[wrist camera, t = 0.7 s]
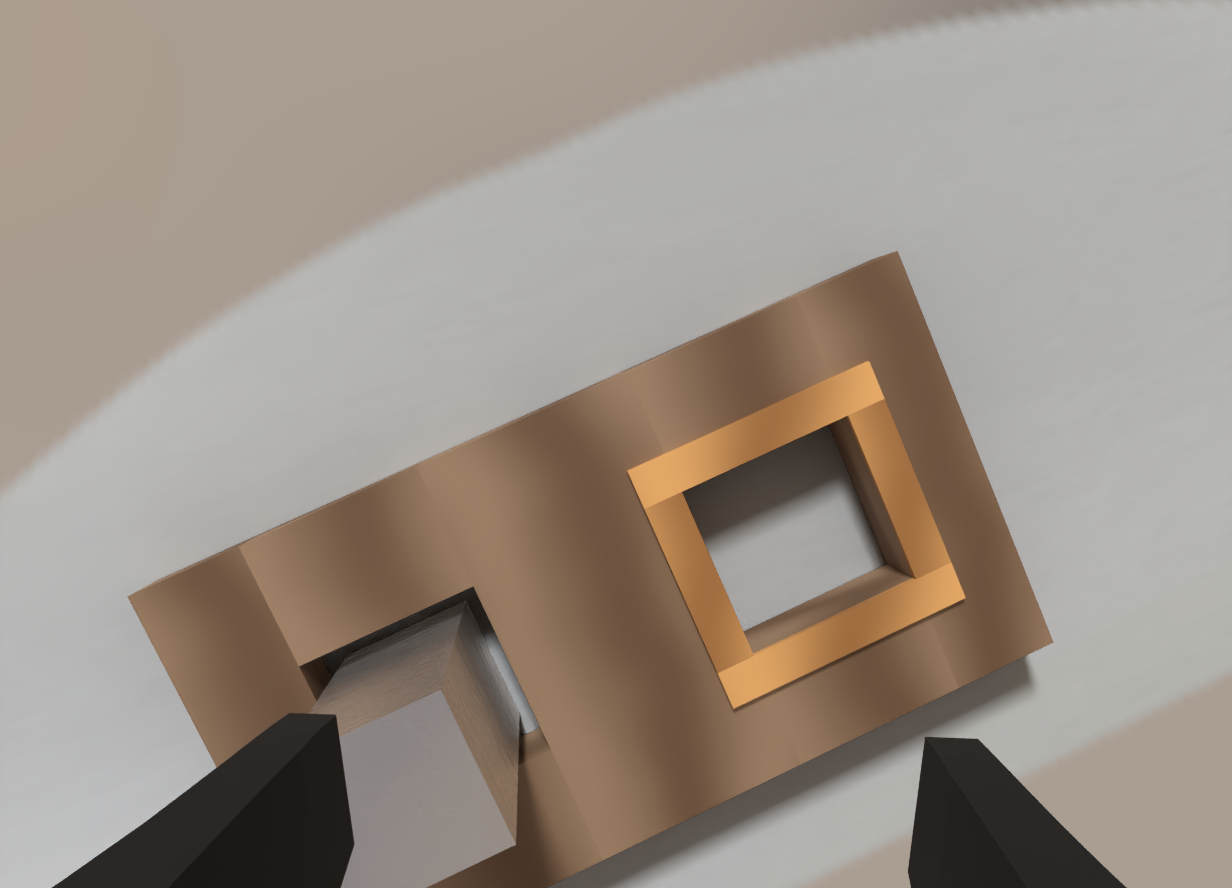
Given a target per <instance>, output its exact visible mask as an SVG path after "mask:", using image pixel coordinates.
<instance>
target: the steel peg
mask: <svg viewBox="0 0 1232 888" xmlns="http://www.w3.org/2000/svg"><path fill="white" fill-rule="evenodd" d="M309 714H333V715H336V717H337V724H338V731H339V738H340V745H341V752H342V759H343V766H344V773H345V780H346V787H347V794H348V801H349V808H350V816H351V823H352V830H353V837H354V847H353V851H352V854H351V857H350V860H349V863H348V867H347V870H346V873H345V876H344V879H343V882H342V886H341V888H427V887H429V886H431V885H433V884H435V883H437V882H439V881H441V880H443V879H445V878H447V877H449V876H452V875H454V874H456V873H458V872H460V871H462V870H464V869H466V868H468V867H470V866H472V865H475V864H477V863H479V862H481V861H483V860H485V859H487V858H489V857H491V856H493V855H495V854H497V853H500V852H502V851H504V850H506V849H508V848H510V847H512V846H514V845H516V827H517V790H518V754H519V718H520V713H519V711H518V709H517V707H516V704H515V702H514V700H513V698H512V696H511V694H510V692H509V690H508V688H507V686H506V683H505V681H504V679H503V677H502V675H501V673H500V671H499V669H498V667H497V665H496V662H495V660H494V658H493V656H492V654H491V652H490V650H489V648H488V646H487V644H486V641H485V639H484V637H483V635H482V633H481V631H480V629H479V627H478V625H477V623H476V620H475V618H474V616H473V614H472V612H471V610H470V608H469V606H468V604H467V602H466V601H464V602H462V603H460V604H457V605H455V606H453V607H451V608H449V609H447V610H444V611H442V612H440V613H438V614H436V615H433V616H431V617H429V618H427V619H425V620H423V621H420V622H418V623H416V624H414V625H412V626H410V627H407V628H405V629H403V630H401V631H399V632H397V633H394V634H392V635H390V636H388V637H386V638H383V639H381V640H379V641H377V642H375V643H373V644H370V645H368V646H366V647H364V648H362V649H360V650H357V651H355V652H353V653H351V654H349V655H347V656H346V657H345V659H344V660H343V662H342V664H341V665H340V667H339V668H338V670H337V671H336V673H335V674H334V676H333V677H332V679H331V680H330V682H329V683H328V685H327V686H326V688H325V689H324V691H323V692H322V694H321V696H320V697H319V699H318V700H317V702H316V703H315V705H314V706H313V708H312V709H311V711H310V712H309Z"/></svg>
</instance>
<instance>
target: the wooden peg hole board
mask: <svg viewBox="0 0 1232 888" xmlns="http://www.w3.org/2000/svg"><path fill="white" fill-rule="evenodd" d="M828 424H829V427H830V429H831V432H832V434H833V436H834V439H835V441H836V444H837V446H838V448H839V451H840V453H841V456H842V458H843V460H844V463H845V465H846V468H847V470H848V472H849V475H850V477H851V480H852V482H853V484H854V487H855V489H856V492H857V494H858V496H859V499H860V501H861V504H862V506H863V508H864V511H865V513H866V516H867V518H868V520H869V523H870V525H871V528H872V530H873V532H874V535H875V537H876V540H877V542H878V544H879V547H880V549H881V552H882V554H883V556H884V559H885V561H886V565H884V566H881V567H879V568H877V569H875V570H873V571H871V572H869V573H867V574H864V575H862V576H860V577H858V578H856V579H854V580H852V581H850V582H848V583H845V584H843V585H841V586H839V587H837V588H835V589H833V590H831V591H828V592H826V593H824V594H822V595H820V596H818V597H816V598H814V599H812V600H809V601H807V602H805V603H803V604H801V605H799V606H797V607H795V608H792V609H790V610H788V611H786V612H784V613H782V614H780V615H778V616H776V617H773V618H771V619H769V620H767V621H765V622H763V623H761V624H759V625H756V626H754V627H752V628H750V629H748V630H746V631H744V632H743V629H742V627H741V625H740V623H739V620H738V618H737V616H736V614H735V611H734V609H733V607H732V604H731V602H730V600H729V598H728V595H727V593H726V591H725V589H724V586H723V584H722V582H721V579H720V577H719V575H718V573H717V570H716V568H715V566H714V564H713V561H712V559H711V557H710V555H709V552H708V550H707V548H706V545H705V543H704V541H703V539H702V536H701V534H700V532H699V530H698V527H697V525H696V523H695V520H694V518H693V516H692V514H691V511H690V509H689V507H688V505H687V502H686V500H685V498H684V495H683V493H682V492H683V491H685V490H687V489H689V488H691V487H693V486H696V485H698V484H700V483H702V482H704V481H707V480H709V479H711V478H713V477H715V476H717V475H720V474H722V473H724V472H726V471H728V470H730V469H733V468H735V467H737V466H739V465H741V464H744V463H746V462H748V461H750V460H752V459H754V458H757V457H759V456H761V455H763V454H765V453H767V452H770V451H772V450H774V449H776V448H778V447H780V446H783V445H785V444H787V443H789V442H791V441H794V440H796V439H798V438H800V437H802V436H804V435H807V434H809V433H811V432H813V431H815V430H817V429H820V428H822V427H824V426H826V425H828ZM471 587H474V589H475V591H476V593H477V595H478V597H479V599H480V601H481V603H482V605H483V608H484V610H485V612H486V614H487V616H488V618H489V620H490V622H491V624H492V627H493V629H494V631H495V633H496V635H497V637H498V639H499V641H500V643H501V646H502V648H503V650H504V652H505V654H506V656H507V658H508V660H509V662H510V665H511V667H512V669H513V671H514V673H515V675H516V677H517V679H518V681H519V684H520V686H521V688H522V690H523V692H524V694H525V696H526V698H527V700H528V702H529V705H530V707H531V709H532V711H533V713H534V715H535V717H536V719H537V721H538V724H539V726H540V728H538V729H536V730H534V731H532V732H530V733H528V734H526V735H524V736H521V737H519V754H518V790H517V827H516V845H514V846H512V847H510V848H508V849H506V850H504V851H502V852H500V853H497V854H495V855H493V856H491V857H489V858H487V859H485V860H483V861H481V862H479V863H477V864H475V865H472V866H470V867H468V868H466V869H464V870H462V871H460V872H458V873H456V874H454V875H452V876H449V877H447V878H445V879H443V880H441V881H439V882H437V883H435V884H433V885H431V886H429V887H427V888H547V887H549V886H551V885H553V884H555V883H557V882H559V881H561V880H563V879H565V878H568V877H570V876H572V875H574V874H576V873H578V872H580V871H582V870H584V869H586V868H588V867H590V866H592V865H594V864H596V863H599V862H601V861H603V860H605V859H607V858H609V857H611V856H613V855H615V854H617V853H619V852H621V851H623V850H625V849H627V848H630V847H632V846H634V845H636V844H638V843H640V842H642V841H644V840H646V839H648V838H650V837H652V836H654V835H656V834H658V833H660V832H663V831H665V830H667V829H669V828H671V827H673V826H675V825H677V824H679V823H681V822H683V821H685V820H687V819H689V818H691V817H694V816H696V815H698V814H700V813H702V812H704V811H706V810H708V809H710V808H712V807H714V806H716V805H718V804H720V803H722V802H725V801H727V800H729V799H731V798H733V797H735V796H737V795H739V794H741V793H743V792H745V791H747V790H749V789H751V788H753V787H755V786H758V785H760V784H762V783H764V782H766V781H768V780H770V779H772V778H774V777H776V776H778V775H780V774H782V773H784V772H786V771H789V770H791V769H793V768H795V767H797V766H799V765H801V764H803V763H805V762H807V761H809V760H811V759H813V758H815V757H817V756H820V755H822V754H824V753H826V752H828V751H830V750H832V749H834V748H836V747H838V746H840V745H842V744H844V743H846V742H848V741H851V740H853V739H855V738H857V737H859V736H861V735H863V734H865V733H867V732H869V731H871V730H873V729H875V728H877V727H879V726H881V725H884V724H886V723H888V722H890V721H892V720H894V719H896V718H898V717H900V716H902V715H904V714H906V713H908V712H910V711H912V710H915V709H917V708H919V707H921V706H923V705H925V704H927V703H929V702H931V701H933V700H935V699H937V698H939V697H941V696H943V695H946V694H948V693H950V692H952V691H954V690H956V689H958V688H960V687H962V686H964V685H966V684H968V683H970V682H972V681H974V680H977V679H979V678H981V677H983V676H985V675H987V674H989V673H991V672H993V671H995V670H997V669H999V668H1001V667H1003V666H1005V665H1007V664H1010V663H1012V662H1014V661H1016V660H1018V659H1020V658H1022V657H1024V656H1026V655H1028V654H1030V653H1032V652H1034V651H1036V650H1038V649H1041V648H1043V647H1045V646H1047V645H1049V644H1051V643H1053V640H1052V638H1051V635H1050V633H1049V630H1048V628H1047V625H1046V623H1045V620H1044V618H1043V615H1042V613H1041V610H1040V608H1039V605H1038V603H1037V600H1036V598H1035V595H1034V593H1033V590H1032V588H1031V585H1030V583H1029V580H1028V577H1027V575H1026V572H1025V570H1024V567H1023V565H1022V562H1021V560H1020V557H1019V555H1018V552H1017V550H1016V547H1015V545H1014V542H1013V540H1012V537H1011V535H1010V532H1009V530H1008V527H1007V525H1006V522H1005V520H1004V517H1003V515H1002V512H1001V510H1000V507H999V505H998V502H997V500H996V497H995V495H994V492H993V490H992V487H991V485H990V482H989V480H988V477H987V475H986V472H985V470H984V467H983V465H982V462H981V459H980V457H979V454H978V452H977V449H976V447H975V444H974V442H973V439H972V437H971V434H970V432H969V429H968V427H967V424H966V422H965V419H964V417H963V414H962V412H961V409H960V407H959V404H958V402H957V399H956V397H955V394H954V392H953V389H952V387H951V384H950V382H949V379H948V377H947V374H946V372H945V369H944V367H943V364H942V362H941V359H940V357H939V354H938V352H937V349H936V347H935V344H934V341H933V339H932V336H931V334H930V331H929V329H928V326H927V324H926V321H925V319H924V316H923V314H922V311H921V309H920V306H919V304H918V301H917V299H916V296H915V294H914V291H913V289H912V286H911V284H910V281H909V279H908V276H907V274H906V271H905V269H904V266H903V264H902V261H901V259H900V256H899V254H898V251H896V252H893V253H890V254H887V255H884V256H881V257H878V258H875V259H872V260H870V261H868V262H865V263H863V264H861V265H859V266H856V267H854V268H852V269H850V270H848V271H845V272H843V273H841V274H839V275H836V276H834V277H832V278H830V279H827V280H825V281H823V282H821V283H819V284H816V285H814V286H812V287H810V288H807V289H805V290H803V291H801V292H799V293H796V294H794V295H792V296H790V297H787V298H785V299H783V300H781V301H778V302H776V303H774V304H772V305H770V306H767V307H765V308H763V309H761V310H758V311H756V312H754V313H752V314H750V315H747V316H745V317H743V318H741V319H738V320H736V321H734V322H732V323H729V324H727V325H725V326H723V327H721V328H718V329H716V330H714V331H712V332H709V333H707V334H705V335H703V336H701V337H698V338H696V339H694V340H692V341H689V342H687V343H685V344H683V345H680V346H678V347H676V348H674V349H672V350H669V351H667V352H665V353H663V354H660V355H658V356H656V357H654V358H652V359H649V360H647V361H645V362H643V363H640V364H638V365H636V366H634V367H631V368H629V369H627V370H625V371H623V372H620V373H618V374H616V375H614V376H611V377H609V378H607V379H605V380H602V381H600V382H598V383H596V384H594V385H591V386H589V387H587V388H585V389H582V390H580V391H578V392H576V393H574V394H571V395H569V396H567V397H565V398H562V399H560V400H558V401H556V402H553V403H551V404H549V405H547V406H545V407H542V408H540V409H538V410H536V411H533V412H531V413H529V414H527V415H525V416H522V417H520V418H518V419H516V420H513V421H511V422H509V423H507V424H504V425H502V426H500V427H498V428H496V429H493V430H491V431H489V432H487V433H484V434H482V435H480V436H478V437H476V438H473V439H471V440H469V441H467V442H464V443H462V444H460V445H458V446H455V447H453V448H451V449H449V450H447V451H444V452H442V453H440V454H438V455H435V456H433V457H431V458H429V459H427V460H424V461H422V462H420V463H418V464H415V465H413V466H411V467H409V468H406V469H404V470H402V471H400V472H398V473H395V474H393V475H391V476H389V477H386V478H384V479H382V480H380V481H378V482H375V483H373V484H371V485H369V486H366V487H364V488H362V489H360V490H357V491H355V492H353V493H351V494H349V495H346V496H344V497H342V498H340V499H337V500H335V501H333V502H331V503H329V504H326V505H324V506H322V507H320V508H317V509H315V510H313V511H311V512H308V513H306V514H304V515H302V516H300V517H297V518H295V519H293V520H291V521H288V522H286V523H284V524H282V525H280V526H277V527H275V528H273V529H271V530H268V531H266V532H264V533H262V534H259V535H257V536H255V537H253V538H251V539H248V540H246V541H244V542H242V543H239V544H237V545H235V546H233V547H231V548H228V549H226V550H224V551H222V552H219V553H217V554H215V555H213V556H210V557H208V558H206V559H204V560H202V561H199V562H197V563H195V564H193V565H190V566H188V567H186V568H184V569H182V570H179V571H177V572H175V573H173V574H170V575H168V576H166V577H164V578H161V579H159V580H157V581H155V582H153V583H152V584H150V585H148V586H146V587H144V588H142V589H141V590H139V591H137V592H135V593H133V594H132V595H130V596H128V598H129V600H130V602H131V604H132V606H133V608H134V610H135V612H136V614H137V616H138V618H139V619H140V621H141V623H142V625H143V627H144V629H145V631H146V633H147V635H148V637H149V639H150V641H151V642H152V644H153V646H154V648H155V650H156V652H157V654H158V656H159V658H160V660H161V662H162V663H163V665H164V667H165V669H166V671H167V673H168V675H169V677H170V679H171V681H172V683H173V685H174V686H175V688H176V690H177V692H178V694H179V696H180V698H181V700H182V702H183V704H184V706H185V708H186V709H187V711H188V713H189V715H190V717H191V719H192V721H193V723H194V725H195V727H196V729H197V730H198V732H199V734H200V736H201V738H202V740H203V742H204V744H205V746H206V748H207V750H208V752H209V753H210V755H211V757H212V759H213V761H214V763H215V765H216V767H218V766H220V765H221V764H222V763H223V762H225V761H226V760H227V759H229V758H230V757H231V756H232V755H234V754H235V753H236V752H238V751H239V750H240V749H241V748H243V747H244V746H245V745H247V744H248V743H249V742H250V741H252V740H253V739H254V738H256V737H257V736H258V735H260V734H261V733H262V732H263V731H265V730H266V729H267V728H269V727H270V726H271V725H273V724H274V723H276V722H277V721H278V720H280V719H281V718H283V717H284V716H285V715H287V714H288V713H307V714H309V712H310V711H311V709H312V708H313V706H314V705H315V703H316V702H317V700H318V699H319V697H320V696H321V694H322V692H323V691H324V689H325V688H326V686H327V685H328V683H329V682H330V680H331V679H332V677H331V675H330V673H329V671H328V669H327V667H326V665H325V663H324V661H323V659H322V657H321V656H323V655H325V654H327V653H329V652H331V651H334V650H336V649H338V648H340V647H342V646H345V645H347V644H349V643H351V642H353V641H355V640H358V639H360V638H362V637H364V636H366V635H368V634H371V633H373V632H375V631H377V630H379V629H381V628H384V627H386V626H388V625H390V624H392V623H395V622H397V621H399V620H401V619H403V618H405V617H408V616H410V615H412V614H414V613H416V612H418V611H421V610H423V609H425V608H427V607H429V606H432V605H434V604H436V603H438V602H440V601H442V600H445V599H447V598H449V597H451V596H453V595H455V594H458V593H460V592H462V591H464V590H466V589H469V588H471Z"/></svg>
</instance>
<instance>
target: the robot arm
mask: <svg viewBox="0 0 1232 888" xmlns="http://www.w3.org/2000/svg"><path fill="white" fill-rule="evenodd" d="M353 847H354V837H353V830H352V823H351V816H350V808H349V801H348V794H347V787H346V780H345V773H344V766H343V759H342V752H341V745H340V738H339V731H338V724H337V717H336V715H333V714H307V713H288V714H287V715H285V716H284V717H283V718H281V719H280V720H278V721H277V722H276V723H274V724H273V725H271V726H270V727H269V728H267V729H266V730H265V731H263V732H262V733H261V734H260V735H258V736H257V737H256V738H254V739H253V740H252V741H250V742H249V743H248V744H247V745H245V746H244V747H243V748H241V749H240V750H239V751H238V752H236V753H235V754H234V755H232V756H231V757H230V758H229V759H227V760H226V761H225V762H223V763H222V764H221V765H220V766H218V767H217V768H216V769H214V770H213V771H212V772H211V773H209V774H208V775H207V776H205V777H204V778H203V779H201V780H200V781H199V782H198V783H196V784H195V785H194V786H192V787H191V788H190V789H188V790H187V791H186V792H184V793H183V794H182V795H180V796H179V797H178V798H176V799H175V800H174V801H173V802H171V803H170V804H169V805H167V806H166V807H165V808H163V809H162V810H161V811H159V812H158V813H157V814H155V815H154V816H153V817H152V818H150V819H149V820H147V821H146V822H145V823H143V824H142V825H141V826H139V827H138V828H136V829H135V830H134V831H132V832H131V833H129V834H128V835H126V836H125V837H124V838H122V839H121V840H119V841H118V842H116V843H115V844H114V845H112V846H111V847H109V848H108V849H107V850H105V851H104V852H102V853H101V854H99V855H98V856H97V857H95V858H94V859H92V860H91V861H90V862H88V863H87V864H85V865H84V866H82V867H81V868H80V869H78V870H77V871H75V872H74V873H72V874H71V875H70V876H68V877H67V878H65V879H64V880H63V881H61V882H60V883H58V884H57V885H55V886H54V887H52V888H341V886H342V882H343V879H344V876H345V873H346V870H347V867H348V863H349V860H350V857H351V854H352V851H353ZM908 874H909V879H910V884H911V888H1126V887H1125V886H1124V885H1123V884H1122V883H1121V882H1120V881H1119V880H1118V879H1117V878H1115V877H1114V876H1113V875H1112V874H1111V873H1110V872H1109V871H1108V870H1107V869H1106V868H1105V867H1104V866H1103V865H1102V864H1101V863H1100V862H1099V861H1098V860H1097V859H1096V858H1095V857H1094V856H1093V855H1092V854H1091V853H1089V852H1088V851H1087V850H1086V849H1085V848H1084V847H1083V846H1082V845H1081V844H1080V843H1079V842H1078V841H1077V840H1076V839H1075V838H1074V837H1073V836H1072V835H1071V834H1070V833H1069V832H1068V831H1067V830H1066V829H1065V828H1064V827H1063V826H1062V825H1061V824H1060V823H1059V822H1058V821H1057V820H1056V819H1055V818H1054V817H1053V816H1052V815H1051V814H1050V813H1049V812H1048V811H1047V810H1046V809H1045V808H1044V807H1043V806H1042V804H1041V803H1039V801H1038V800H1037V799H1036V798H1035V797H1034V796H1033V795H1032V794H1031V793H1030V792H1029V791H1028V790H1027V789H1026V788H1025V787H1024V786H1023V785H1022V784H1021V783H1020V782H1019V781H1018V780H1017V779H1016V778H1015V777H1014V776H1013V774H1012V773H1011V772H1010V771H1009V770H1008V769H1007V768H1006V767H1005V766H1004V765H1003V764H1002V763H1001V762H1000V761H999V760H998V759H997V758H996V757H995V756H994V755H993V754H992V753H991V752H990V751H989V750H988V749H987V748H986V747H985V746H984V745H983V744H982V743H981V742H980V741H979V740H978V739H965V738H939V737H925V742H924V750H923V758H922V766H921V773H920V781H919V789H918V797H917V805H916V812H915V820H914V828H913V836H912V844H911V851H910V859H909V867H908Z"/></svg>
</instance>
